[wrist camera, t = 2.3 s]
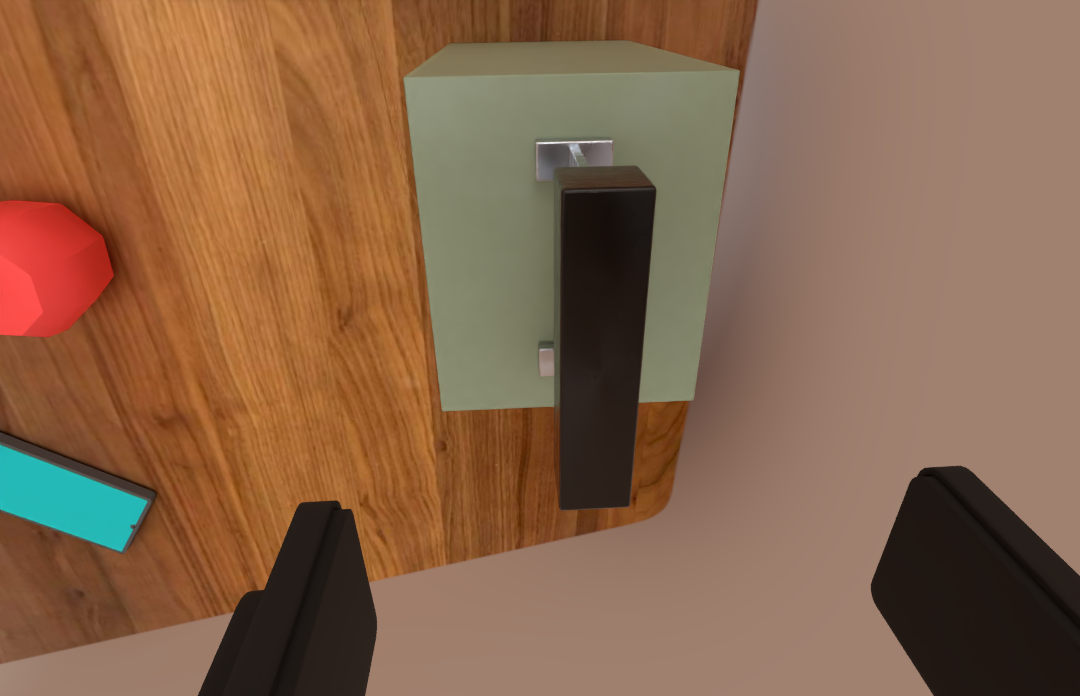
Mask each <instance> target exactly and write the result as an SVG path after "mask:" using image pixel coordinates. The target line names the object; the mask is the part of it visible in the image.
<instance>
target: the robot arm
mask: <svg viewBox="0 0 1080 696" xmlns="http://www.w3.org/2000/svg"><path fill="white" fill-rule="evenodd" d="M871 593H872V597H873V600H874V603H875V604H876V606H877V608H878V610H879V611H880V613H881V614H882V616H883V617H884V619H885V620H886V622H887V623H888V625H889V627H890V628H891V629H892V631H893V633H894V634H895V636H896V637H897V639H898V641H899V642H900V643H901V645H902V647H903V649H904V650H905V652H906V653H907V655H908V656H909V658H910V659H911V661H912V663H913V664H914V666H915V667H916V669H917V670H918V672H919V673H920V675H921V677H922V678H923V680H924V681H925V683H926V684H927V686H928V687H929V689H930V690H931V692H932V693H933V695H934V696H1080V576H1079V575H1078V574H1077V573H1076V572H1075V571H1074V570H1073V569H1072V568H1071V567H1070V566H1069V565H1068V564H1067V563H1066V562H1065V561H1064V560H1063V559H1061V558H1060V557H1059V556H1058V555H1057V554H1056V553H1055V552H1054V551H1053V550H1052V549H1051V548H1050V547H1049V546H1048V545H1047V544H1046V543H1045V542H1044V541H1043V540H1042V539H1041V538H1040V537H1039V536H1038V535H1037V534H1036V533H1034V531H1032V529H1031V528H1029V527H1028V526H1027V525H1026V524H1025V523H1024V522H1023V521H1022V520H1021V519H1020V518H1019V517H1018V516H1017V515H1016V514H1015V513H1014V512H1013V511H1012V510H1011V509H1010V508H1009V507H1008V506H1007V505H1006V504H1005V503H1004V502H1003V501H1002V500H1000V499H999V498H998V497H997V496H996V495H995V494H994V493H993V492H992V491H991V490H990V489H989V488H988V487H987V486H986V485H985V484H984V483H983V482H982V481H981V480H980V479H979V478H978V477H977V476H976V475H975V474H974V473H973V472H971V471H970V470H969V469H967V468H965V467H962V466H948V467H932V468H931V467H930V468H924V469H923V470H921V471H920V472H919V474H918V476H917V477H915V478H913V479H912V480H911V482H910V484H909V486H908V489H907V491H906V494H905V497H904V500H903V502H902V504H901V507H900V510H899V512H898V515H897V517H896V520H895V523H894V525H893V528H892V530H891V533H890V535H889V538H888V541H887V544H886V546H885V549H884V551H883V554H882V556H881V559H880V562H879V564H878V567H877V569H876V572H875V574H874V577H873V580H872V583H871ZM376 631H377V618H376V612H375V608H374V603H373V599H372V594H371V590H370V586H369V581H368V577H367V573H366V568H365V564H364V559H363V555H362V551H361V546H360V542H359V538H358V533H357V529H356V524H355V520H354V516H353V512H352V510H351V509H342V508H341V505H340V503H339V502H338V501H320V502H302V503H301V504H299V506H298V507H297V509H296V512H295V514H294V517H293V519H292V522H291V524H290V527H289V529H288V532H287V534H286V537H285V539H284V542H283V544H282V547H281V549H280V552H279V554H278V557H277V559H276V562H275V564H274V567H273V569H272V572H271V574H270V577H269V579H268V582H267V584H266V587H265V589H264V590H258V591H250V592H247V593H246V594H245V595H244V596H243V597H242V598H241V600H240V602H239V604H238V605H237V607H236V609H235V611H234V614H233V616H232V618H231V621H230V623H229V625H228V627H227V630H226V632H225V635H224V637H223V639H222V641H221V644H220V646H219V648H218V650H217V653H216V655H215V657H214V660H213V662H212V664H211V667H210V669H209V671H208V673H207V676H206V678H205V680H204V683H203V685H202V687H201V690H200V692H199V694H198V696H365V693H366V688H367V683H368V677H369V672H370V667H371V661H372V656H373V651H374V646H375V640H376V633H377V632H376Z"/></svg>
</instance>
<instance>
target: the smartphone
mask: <svg viewBox="0 0 1080 696" xmlns="http://www.w3.org/2000/svg"><path fill="white" fill-rule="evenodd" d="M155 497H156V493H155V492H153V491H151V490H148V489H145V488H143V487H140V486H138V485H135V484H132V483H130V482H127V481H125V480H122V479H119V478H117V477H114V476H112V475H109V474H107V473H104V472H101V471H99V470H96V469H94V468H91V467H88V466H86V465H83V464H81V463H78V462H75V461H73V460H70V459H68V458H65V457H63V456H60V455H57V454H55V453H52V452H50V451H47V450H44V449H42V448H39V447H37V446H34V445H31V444H29V443H26V442H24V441H21V440H19V439H16V438H13V437H11V436H8V435H6V434H3V433H0V512H2V513H5V514H8V515H11V516H14V517H17V518H20V519H22V520H25V521H28V522H31V523H34V524H37V525H40V526H43V527H45V528H48V529H51V530H54V531H57V532H60V533H63V534H66V535H68V536H71V537H74V538H77V539H80V540H83V541H86V542H89V543H92V544H94V545H97V546H100V547H103V548H106V549H109V550H112V551H115V552H117V553H121V554H124V553H125V552H126V551H127V550H128V548H129V547H130V545H131V543H132V541H133V539H134V538H135V536H136V534H137V532H138V530H139V528H140V526H141V524H142V522H143V520H144V518H145V516H146V515H147V513H148V511H149V509H150V507H151V505H152V503H153V501H154V499H155Z"/></svg>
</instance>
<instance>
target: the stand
mask: <svg viewBox="0 0 1080 696" xmlns="http://www.w3.org/2000/svg"><path fill="white" fill-rule="evenodd" d="M739 73H740V71H739V70H736V69H732V68H729V67H725V66H721V65H717V64H714V63H710V62H706V61H703V60H699V59H695V58H692V57H688V56H684V55H680V54H677V53H673V52H669V51H666V50H662V49H658V48H655V47H651V46H647V45H643V44H640V43H636V42H632V41H629V40H611V41H553V42H496V43H450V44H448V45H447V46H445V47H444V48H443V49H441V50H440V51H439V52H437V53H436V54H435V55H433V56H432V57H431V58H429V59H428V60H426V61H425V62H424V63H422V64H421V65H420V66H418V67H417V68H416V69H414V70H413V71H412V72H410V73H409V74H408V75H406V76H405V77H404V78H403V80H404V89H405V97H406V106H407V114H408V123H409V131H410V140H411V149H412V157H413V166H414V174H415V183H416V192H417V200H418V209H419V217H420V226H421V234H422V243H423V252H424V260H425V269H426V277H427V286H428V295H429V303H430V312H431V320H432V329H433V338H434V346H435V355H436V363H437V372H438V380H439V389H440V398H441V406H442V411H461V410H484V409H507V408H529V407H552V406H554V376H542V377H541V376H539V371H538V343H539V342H554V181H539V182H538V181H536V178H535V147H534V141H535V139H537V138H577V137H611V138H612V139H613V140H614V154H613V166H630V165H636V166H638V167H639V168H640V169H641V170H642V171H643V173H644V174H645V175H646V176H647V177H648V178H649V180H650V181H651V182H652V183H653V184H654V185H655V187H656V189H657V195H656V207H655V218H654V230H653V242H652V253H651V265H650V277H649V289H648V300H647V312H646V324H645V336H644V347H643V359H642V371H641V383H640V394H639V403H642V402H665V401H687V400H694V393H695V386H696V379H697V372H698V371H697V370H698V365H699V357H700V350H701V343H702V336H703V329H704V322H705V315H706V308H707V301H708V294H709V286H710V279H711V272H712V265H713V258H714V251H715V244H716V237H717V230H718V222H719V215H720V208H721V201H722V194H723V187H724V180H725V173H726V166H727V158H728V151H729V144H730V137H731V130H732V123H733V116H734V109H735V102H736V94H737V87H738V80H739Z"/></svg>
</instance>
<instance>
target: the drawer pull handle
mask: <svg viewBox="0 0 1080 696" xmlns="http://www.w3.org/2000/svg"><path fill="white" fill-rule="evenodd" d="M534 147H535V178H536V181H538V182H539V181H554V342H539V343H538V371H539V376H541V377H542V376H554V467H555V476H556V484H557V493H558V502H559V508H560V510H562V511H564V510H583V509H602V508H622V507H629V506H630V500H631V488H632V477H633V465H634V453H635V441H636V430H637V418H638V406H639V394H640V383H641V371H642V359H643V347H644V336H645V324H646V312H647V300H648V289H649V277H650V265H651V253H652V242H653V230H654V218H655V207H656V195H657V189H656V187H655V185H654V184H653V183H652V182H651V181H650V180H649V178H648V177H647V176H646V175H645V174H644V173H643V171H642V170H641V169H640V168H639V167H638V166H636V165H630V166H613V154H614V140H613V139H612V138H611V137H577V138H537V139H535V141H534Z"/></svg>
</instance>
